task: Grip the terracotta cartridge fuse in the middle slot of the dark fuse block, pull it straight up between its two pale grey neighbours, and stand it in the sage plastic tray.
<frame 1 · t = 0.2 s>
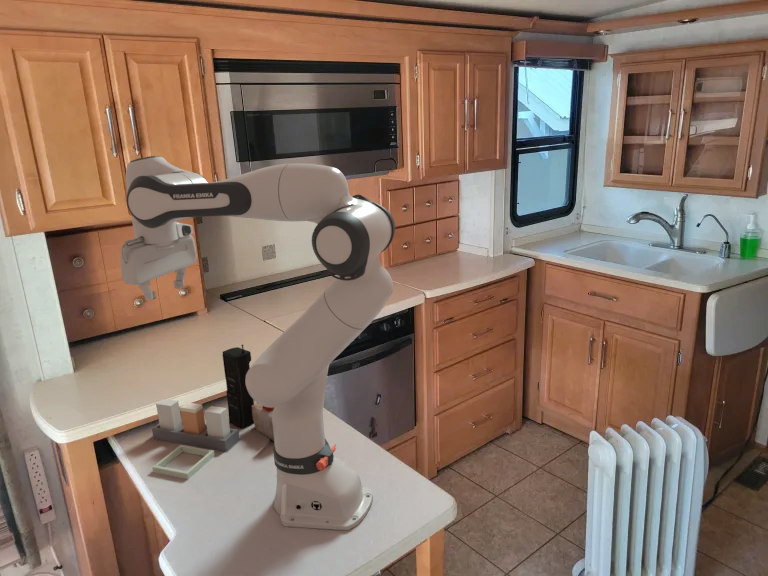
hand: (165, 293, 127), 47 cm above the worktop, tool pointing down, fingers open, 8 cm apart
fuse block: (196, 441, 156), on the worktop
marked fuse: (196, 438, 156), point 1 cm above the worktop, touching fuse block
tray: (185, 467, 144), on the worktop
food item: (275, 434, 159), on the worktop
portable radio: (242, 424, 165), on the worktop
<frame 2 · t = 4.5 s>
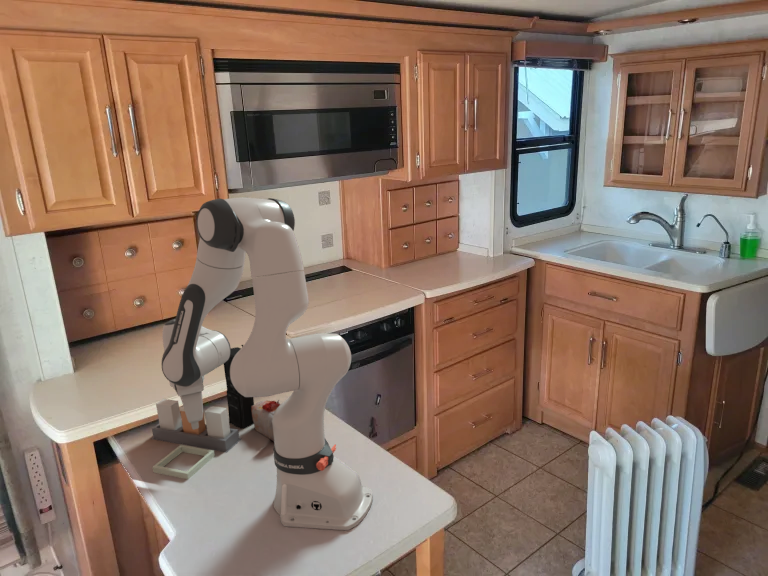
hand: (193, 422, 154), 6 cm above the worktop, tool pointing down, fingers closed on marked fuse, 6 cm apart
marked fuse: (196, 438, 156), point 1 cm above the worktop, touching fuse block, gripper
everything else where it was.
when the fingers open (7 cm above the worktop, at t = 12.7 s): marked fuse drops 2 cm, resting on tray.
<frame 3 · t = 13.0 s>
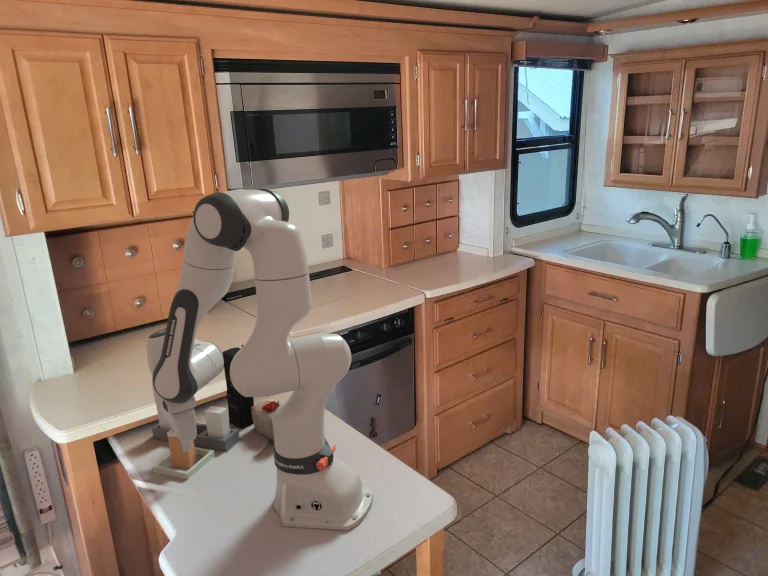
hand: (181, 441, 142), 7 cm above the worktop, tool pointing down, fingers open, 8 cm apart
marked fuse: (185, 465, 144), point 1 cm above the worktop, touching tray
everything else where it was.
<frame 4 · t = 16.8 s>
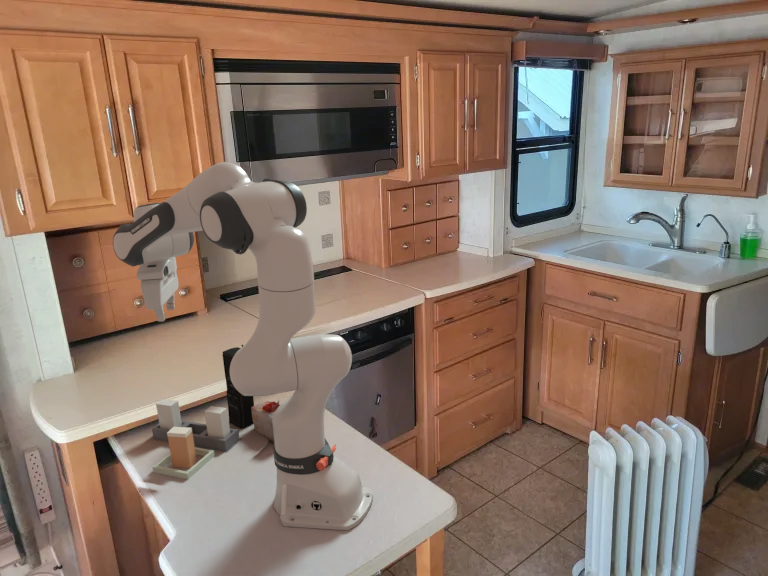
hand: (166, 315, 152), 35 cm above the worktop, tool pointing down, fingers open, 8 cm apart
nothing on the worktop moved.
at the end: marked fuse 0.1 cm off-centre on the tray, point 0.6 cm above the tray's base; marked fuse tilted 0°; the gripper is holding nothing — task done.
